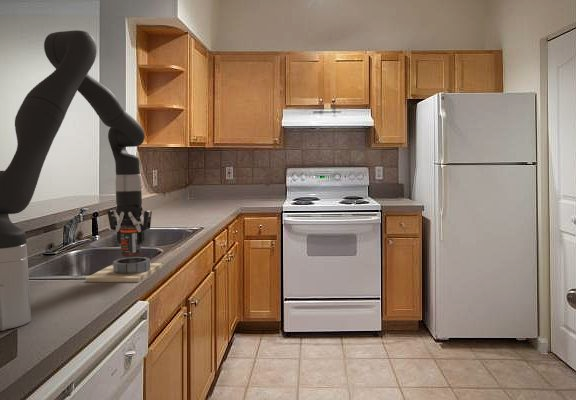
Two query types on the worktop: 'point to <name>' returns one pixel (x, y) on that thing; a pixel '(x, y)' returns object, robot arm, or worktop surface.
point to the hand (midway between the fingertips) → (130, 243)
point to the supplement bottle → (129, 239)
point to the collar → (131, 265)
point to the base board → (121, 275)
